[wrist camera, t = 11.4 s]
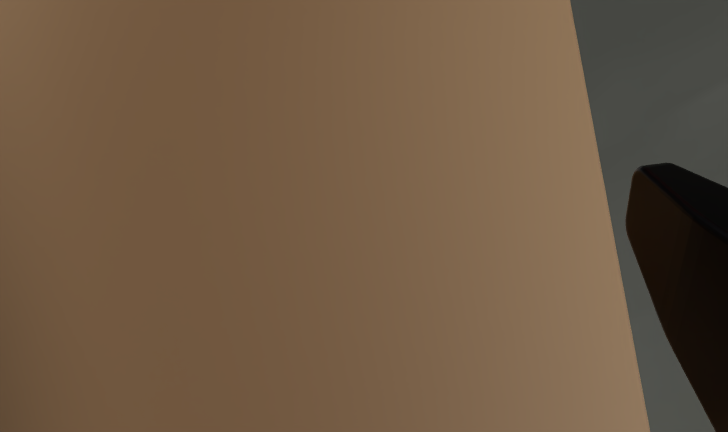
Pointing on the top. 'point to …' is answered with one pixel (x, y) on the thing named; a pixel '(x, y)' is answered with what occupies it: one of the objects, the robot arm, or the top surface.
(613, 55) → the top surface
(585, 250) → the peg
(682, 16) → the top surface
